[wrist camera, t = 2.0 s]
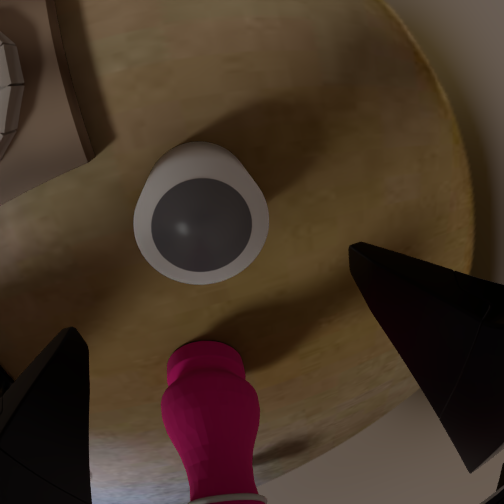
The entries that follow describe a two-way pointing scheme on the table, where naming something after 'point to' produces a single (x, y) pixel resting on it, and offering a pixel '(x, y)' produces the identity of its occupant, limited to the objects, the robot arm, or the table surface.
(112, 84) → the table surface
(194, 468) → the pepper mill
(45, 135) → the mount board
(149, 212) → the lens
